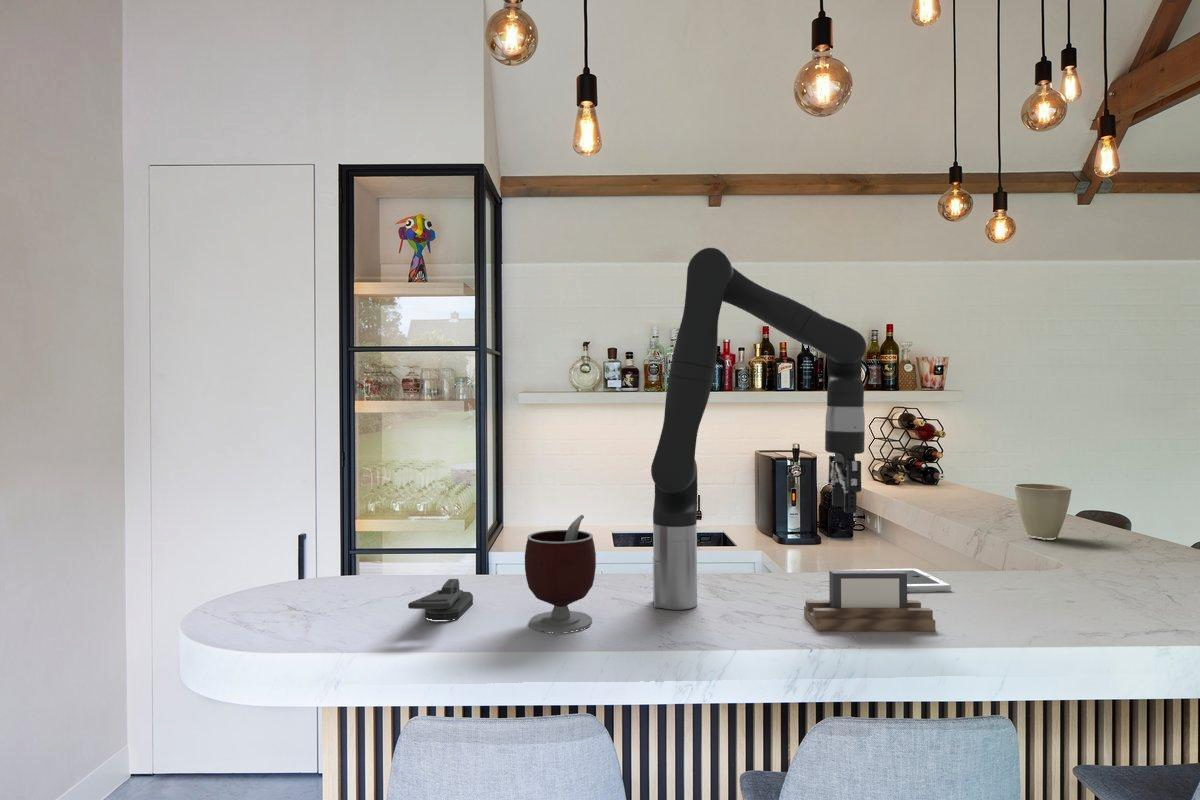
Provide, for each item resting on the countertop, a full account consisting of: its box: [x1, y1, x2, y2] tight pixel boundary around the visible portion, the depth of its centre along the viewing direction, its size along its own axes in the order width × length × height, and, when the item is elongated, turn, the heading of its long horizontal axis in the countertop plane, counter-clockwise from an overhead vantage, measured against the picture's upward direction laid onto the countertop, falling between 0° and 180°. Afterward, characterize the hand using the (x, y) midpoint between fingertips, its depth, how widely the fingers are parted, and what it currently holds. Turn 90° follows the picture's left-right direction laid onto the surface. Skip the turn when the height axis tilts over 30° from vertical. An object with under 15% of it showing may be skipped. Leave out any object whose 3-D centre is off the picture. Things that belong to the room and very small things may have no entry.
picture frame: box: [868, 568, 952, 593], centre depth 168 cm, size 16×3×21 cm
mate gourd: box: [524, 514, 597, 634], centre depth 140 cm, size 16×14×20 cm
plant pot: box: [1014, 483, 1072, 538], centre depth 219 cm, size 15×15×16 cm
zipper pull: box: [407, 578, 474, 620], centre depth 144 cm, size 9×7×25 cm
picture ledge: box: [803, 599, 936, 632], centre depth 138 cm, size 22×9×4 cm, turn 89°
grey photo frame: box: [828, 569, 908, 608], centre depth 138 cm, size 14×2×8 cm, turn 88°
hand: (843, 509), depth 144 cm, fingers open, 8 cm apart
